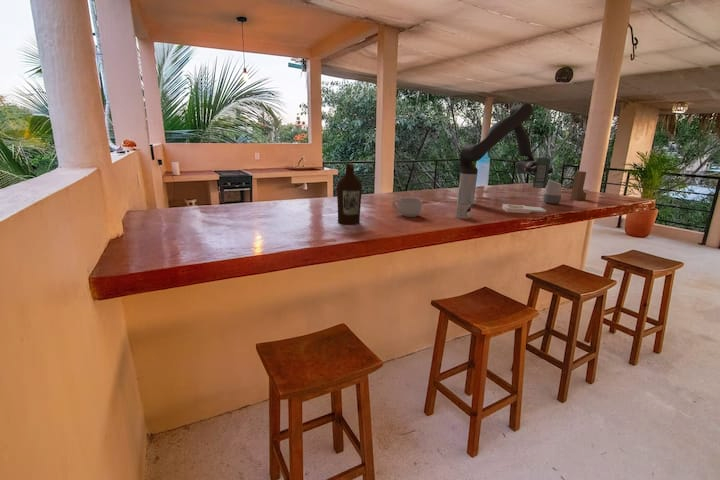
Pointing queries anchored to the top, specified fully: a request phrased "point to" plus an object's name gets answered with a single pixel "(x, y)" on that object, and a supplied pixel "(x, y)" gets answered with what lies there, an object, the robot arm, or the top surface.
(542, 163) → the can
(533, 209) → the white rectangular plate
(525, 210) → the well rim
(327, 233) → the top surface
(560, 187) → the smart speaker
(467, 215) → the mug
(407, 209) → the teacup
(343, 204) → the olive oil
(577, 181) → the wooden block
